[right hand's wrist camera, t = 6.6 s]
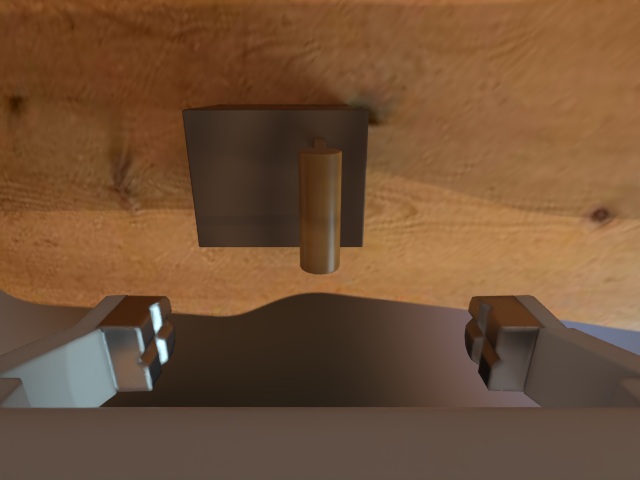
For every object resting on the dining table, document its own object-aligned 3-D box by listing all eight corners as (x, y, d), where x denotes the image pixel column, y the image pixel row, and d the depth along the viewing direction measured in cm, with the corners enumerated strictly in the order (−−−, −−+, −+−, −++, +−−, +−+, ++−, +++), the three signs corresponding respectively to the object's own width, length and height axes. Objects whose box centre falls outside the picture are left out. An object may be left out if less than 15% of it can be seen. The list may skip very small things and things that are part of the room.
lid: (366, 108, 25) (390, 116, 17) (361, 242, 28) (378, 301, 20) (186, 108, 25) (123, 117, 17) (203, 242, 28) (156, 302, 20)
